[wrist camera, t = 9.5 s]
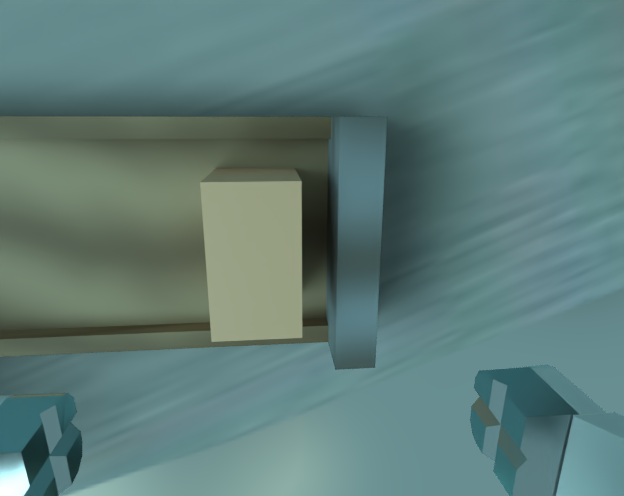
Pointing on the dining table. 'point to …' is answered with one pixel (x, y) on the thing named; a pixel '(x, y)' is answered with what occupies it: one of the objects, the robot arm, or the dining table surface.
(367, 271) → the track
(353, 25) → the dining table surface
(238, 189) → the block
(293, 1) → the dining table surface
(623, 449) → the robot arm
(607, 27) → the dining table surface
